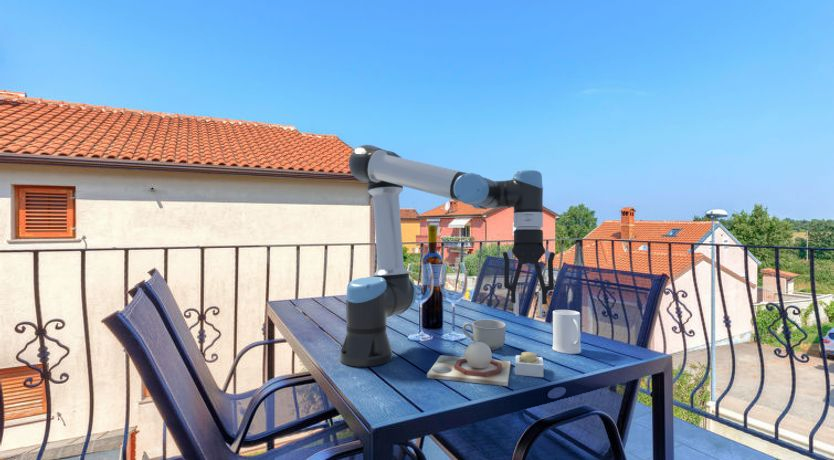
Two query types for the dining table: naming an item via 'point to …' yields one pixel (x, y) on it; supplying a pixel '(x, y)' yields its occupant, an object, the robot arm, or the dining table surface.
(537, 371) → the button housing
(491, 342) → the teacup
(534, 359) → the button
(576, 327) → the mug
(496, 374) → the picture board
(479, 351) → the white ball
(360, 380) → the dining table surface
